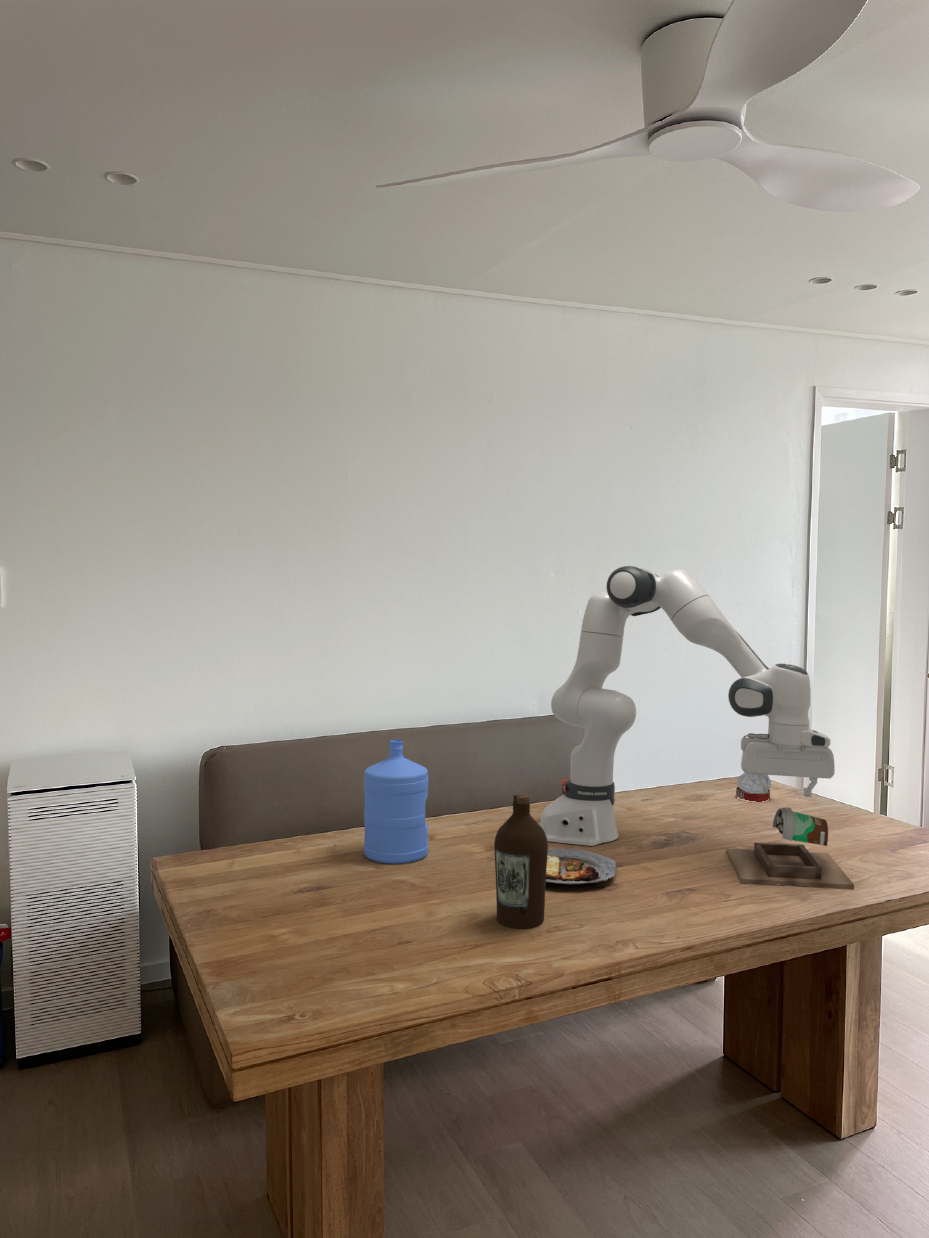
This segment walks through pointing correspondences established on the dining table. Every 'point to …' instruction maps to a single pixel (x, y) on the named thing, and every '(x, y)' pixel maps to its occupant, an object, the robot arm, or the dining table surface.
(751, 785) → the canned food
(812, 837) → the food container
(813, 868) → the caddy board
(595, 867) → the food plate
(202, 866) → the dining table surface
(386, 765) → the water jug
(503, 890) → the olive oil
